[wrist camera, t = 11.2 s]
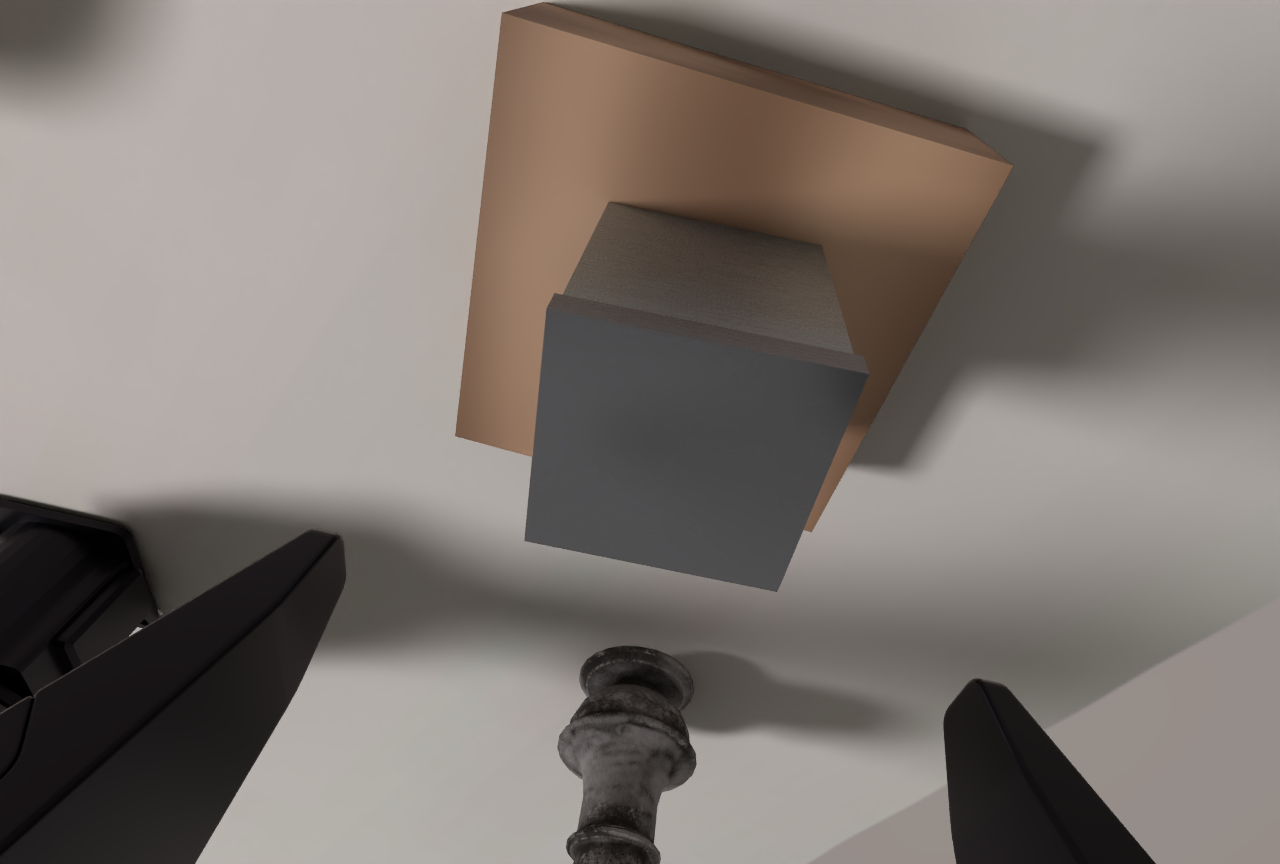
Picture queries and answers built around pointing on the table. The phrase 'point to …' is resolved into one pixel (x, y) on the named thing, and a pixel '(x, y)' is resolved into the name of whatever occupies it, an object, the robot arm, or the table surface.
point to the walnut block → (702, 196)
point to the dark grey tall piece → (626, 752)
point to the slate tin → (690, 398)
